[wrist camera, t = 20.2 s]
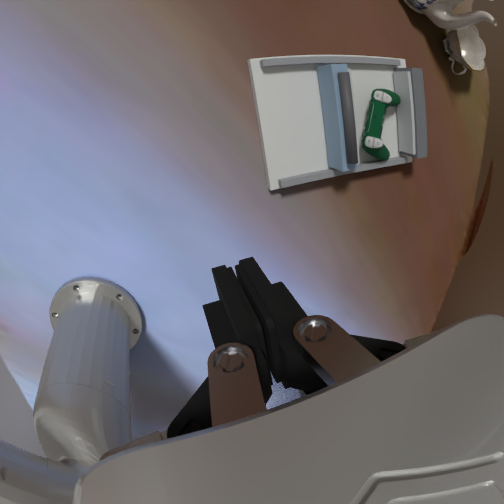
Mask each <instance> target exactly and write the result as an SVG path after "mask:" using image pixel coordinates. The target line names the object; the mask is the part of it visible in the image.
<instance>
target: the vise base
mask: <svg viewBox="0 0 504 504" xmlns="http://www.w3.org/2000/svg"><path fill="white" fill-rule="evenodd" d="M247 63H248V68H249V74H250V80H251V86H252V92H253V98H254V104H255V110H256V116H257V122H258V128H259V134H260V141H261V147H262V153H263V160H264V166H265V173H266V180H267V186H268V189H269V190H275V189H279V188H285V187H289V186H294V185H298V184H303V183H307V182H312V181H316V180H321V179H326V178H331V177H335V176H340V175H345V174H350V173H355V172H360V171H366V170H371V169H376V168H381V167H387V166H393V165H398V164H404V163H408V162H412V157H414V158H424V157H427V127H426V108H425V95H424V84H423V75H422V69H419V68H406V63H405V59H398V58H387V57H375V56H356V55H299V56H280V57H267V58H256V59H249V60H247ZM329 64H347V68H349V69H350V70H351V77H352V85H353V93H354V101H355V111H356V121H357V132H358V145H359V160H360V164H357V169H354V170H349V171H344V172H342V171H340V170H337V169H334V168H332V167H329V166H328V156H327V145H326V136H325V127H324V118H323V110H322V102H321V94H320V87H319V80H318V74H317V67H318V66H323V65H329ZM375 89H387V90H390V91H393V92H395V93H396V94H398V95H399V97H400V99H401V102H400V104H398V105H396V106H390V107H388V108H387V109H386V114H385V119H384V124H383V129H382V134H381V139H382V141H383V144H384V145H385V146H386V147H387V149H388V150H389V152H390V157H389V159H388V160H386V161H382V160H379V159H377V158H375V157H373V156H371V155H370V154H368V153H367V152H366V151H365V150H364V149H363V148H362V144H363V143H362V140H363V137H364V134H363V128H364V126H366V122H367V117H368V111H367V108H368V105H369V104H370V99H371V93H372V91H373V90H375Z"/></svg>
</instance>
